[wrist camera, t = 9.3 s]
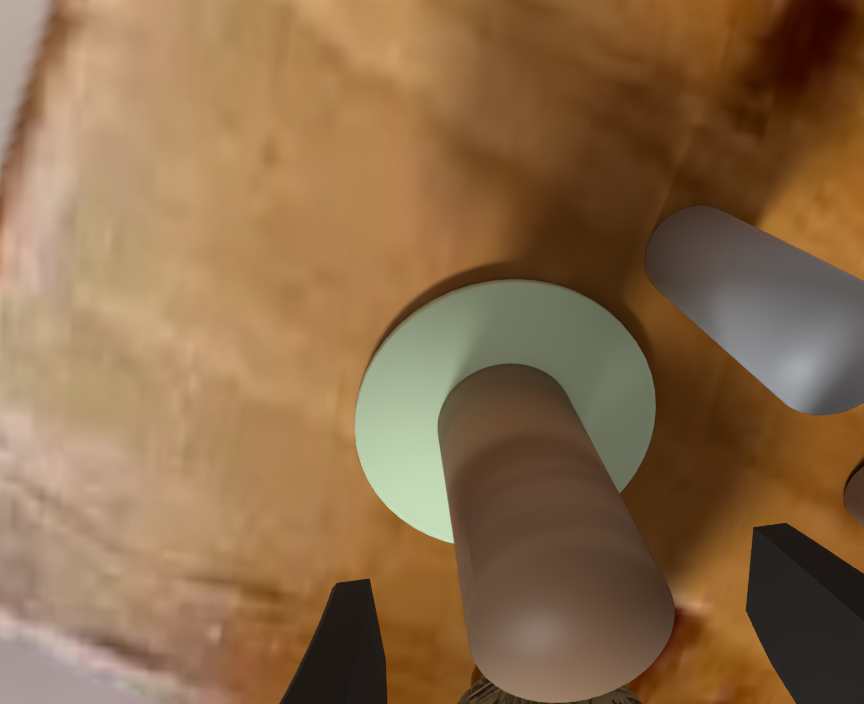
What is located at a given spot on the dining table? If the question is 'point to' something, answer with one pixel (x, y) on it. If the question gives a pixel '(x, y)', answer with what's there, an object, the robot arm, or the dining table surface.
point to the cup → (489, 700)
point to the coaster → (486, 346)
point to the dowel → (545, 543)
